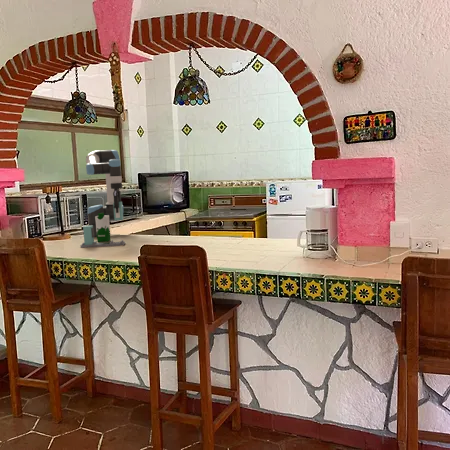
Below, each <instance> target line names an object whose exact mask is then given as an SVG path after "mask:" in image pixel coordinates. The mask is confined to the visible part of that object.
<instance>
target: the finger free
mask: <svg viewBox="0 0 450 450" xmlns="http://www.w3.org/2000/svg"><path fill="white" fill-rule="evenodd" d="M122 205H123V201H121V202H119V210H120V218H116V214H115V208H114V202H113V214H114V220H117V221H124V207H123V208H122Z"/></svg>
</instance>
